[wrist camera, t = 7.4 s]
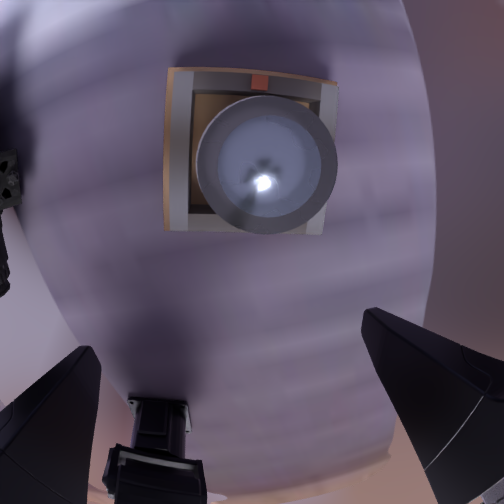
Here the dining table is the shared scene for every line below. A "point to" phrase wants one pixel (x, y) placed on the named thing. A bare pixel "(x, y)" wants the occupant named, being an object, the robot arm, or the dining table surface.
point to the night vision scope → (7, 206)
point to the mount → (201, 114)
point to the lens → (266, 164)
